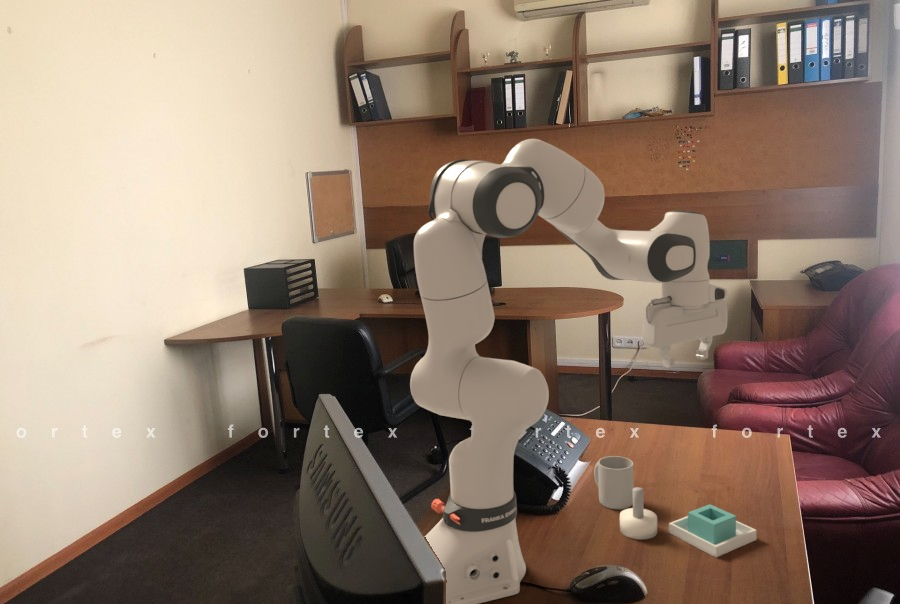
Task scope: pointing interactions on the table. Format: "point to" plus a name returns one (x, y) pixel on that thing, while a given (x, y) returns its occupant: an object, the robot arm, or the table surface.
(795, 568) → the table surface
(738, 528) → the tray
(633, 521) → the peg stand
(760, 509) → the table surface
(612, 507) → the cup
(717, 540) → the teal hollow block
